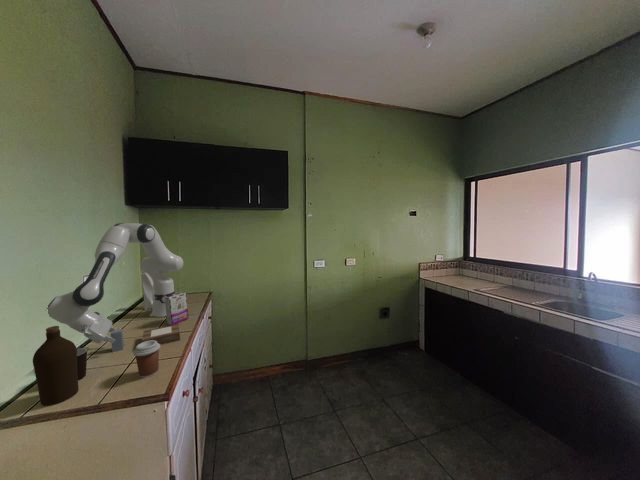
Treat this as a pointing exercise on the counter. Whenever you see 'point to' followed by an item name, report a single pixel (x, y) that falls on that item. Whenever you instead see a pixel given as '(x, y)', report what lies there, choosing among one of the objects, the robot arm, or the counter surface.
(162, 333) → the walnut base
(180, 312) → the candy bar box
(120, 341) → the slate block
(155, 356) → the coffee cup
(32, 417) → the counter surface
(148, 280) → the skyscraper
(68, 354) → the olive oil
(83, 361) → the coffee mug
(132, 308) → the counter surface
